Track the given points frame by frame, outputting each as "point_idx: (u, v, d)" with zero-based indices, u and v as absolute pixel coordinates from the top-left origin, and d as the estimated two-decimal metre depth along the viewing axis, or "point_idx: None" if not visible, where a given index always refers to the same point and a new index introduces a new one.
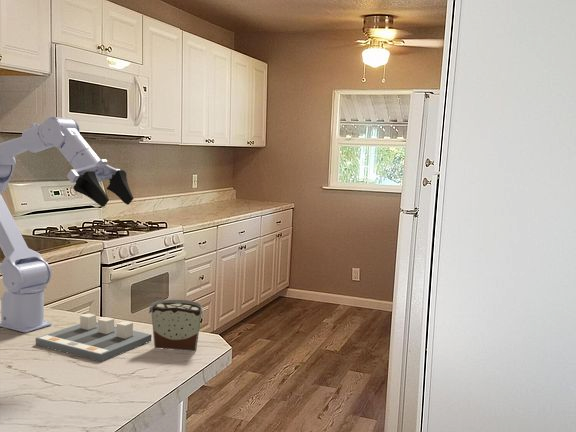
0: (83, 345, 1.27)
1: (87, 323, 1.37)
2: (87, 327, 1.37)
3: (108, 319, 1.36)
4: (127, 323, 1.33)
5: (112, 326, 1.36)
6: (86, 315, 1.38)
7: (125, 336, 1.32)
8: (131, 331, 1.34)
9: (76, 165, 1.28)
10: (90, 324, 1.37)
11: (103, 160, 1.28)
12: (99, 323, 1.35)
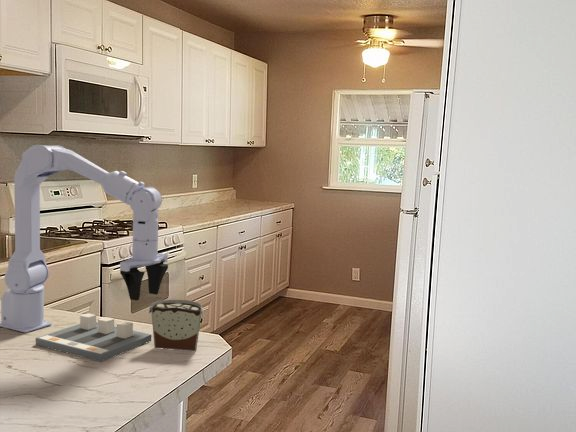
0: (83, 345, 1.27)
1: (87, 323, 1.37)
2: (87, 327, 1.37)
3: (108, 319, 1.36)
4: (127, 323, 1.33)
5: (112, 326, 1.36)
6: (86, 315, 1.38)
7: (125, 336, 1.32)
8: (131, 331, 1.34)
9: (135, 247, 1.35)
10: (90, 324, 1.37)
11: (157, 261, 1.36)
12: (99, 323, 1.35)
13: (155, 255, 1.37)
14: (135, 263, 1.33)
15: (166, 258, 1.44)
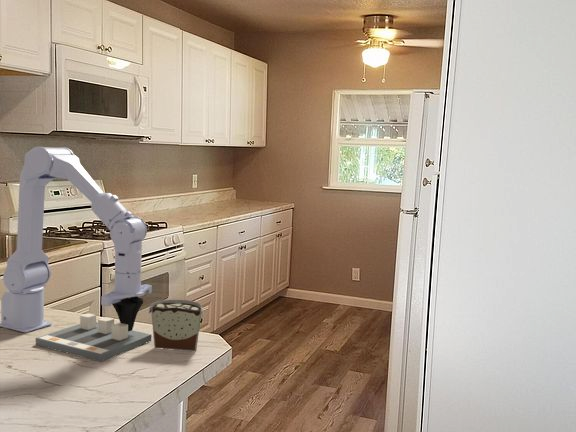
0: (83, 345, 1.27)
1: (87, 323, 1.37)
2: (87, 327, 1.37)
3: (108, 319, 1.36)
4: (122, 325, 1.32)
5: None
6: (86, 315, 1.38)
7: (120, 338, 1.31)
8: (126, 333, 1.33)
9: (117, 280, 1.31)
10: (90, 324, 1.37)
11: (140, 295, 1.32)
12: (99, 323, 1.35)
13: (138, 288, 1.32)
14: (117, 297, 1.28)
15: (150, 289, 1.39)
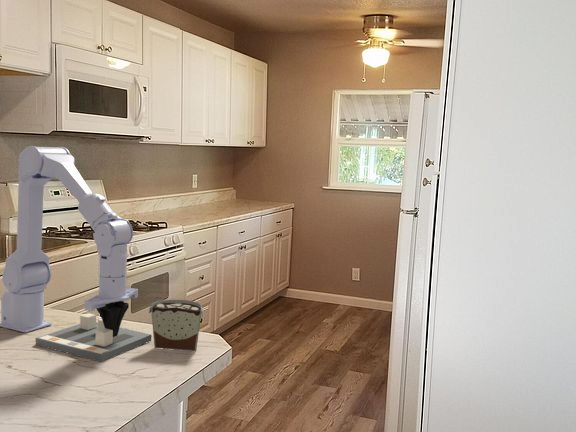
0: (83, 345, 1.27)
1: (87, 323, 1.37)
2: (87, 327, 1.37)
3: None
4: (107, 330, 1.28)
5: None
6: (86, 315, 1.38)
7: (104, 344, 1.27)
8: (111, 339, 1.28)
9: (101, 284, 1.27)
10: (90, 324, 1.37)
11: (125, 299, 1.27)
12: (99, 323, 1.35)
13: (123, 292, 1.28)
14: (101, 302, 1.24)
15: (136, 293, 1.35)
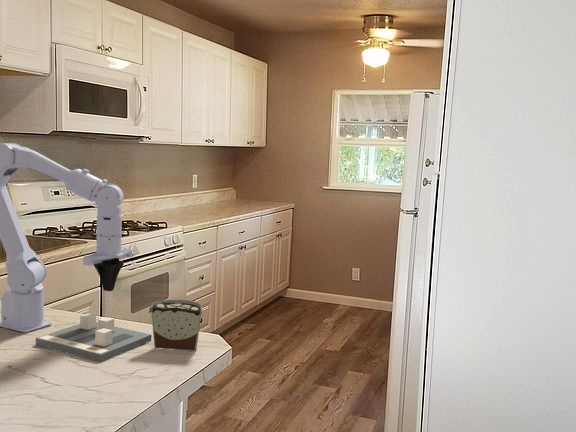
0: (83, 345, 1.27)
1: (87, 323, 1.37)
2: (87, 327, 1.37)
3: (108, 319, 1.36)
4: (106, 330, 1.28)
5: (112, 326, 1.36)
6: (86, 315, 1.38)
7: (104, 344, 1.27)
8: (111, 339, 1.28)
9: (99, 243, 1.40)
10: (90, 324, 1.37)
11: (120, 256, 1.41)
12: (99, 323, 1.35)
13: (118, 250, 1.42)
14: (98, 258, 1.38)
15: (131, 253, 1.48)
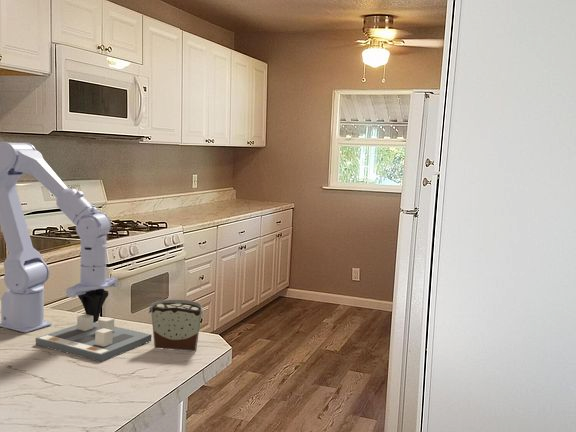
0: (83, 345, 1.27)
1: (84, 324, 1.36)
2: (84, 328, 1.36)
3: (108, 319, 1.36)
4: (106, 330, 1.28)
5: (112, 326, 1.36)
6: (83, 316, 1.37)
7: (104, 344, 1.27)
8: (111, 339, 1.28)
9: (82, 273, 1.36)
10: (87, 325, 1.37)
11: (105, 287, 1.37)
12: (99, 323, 1.35)
13: (103, 280, 1.38)
14: (82, 289, 1.34)
15: (116, 282, 1.45)
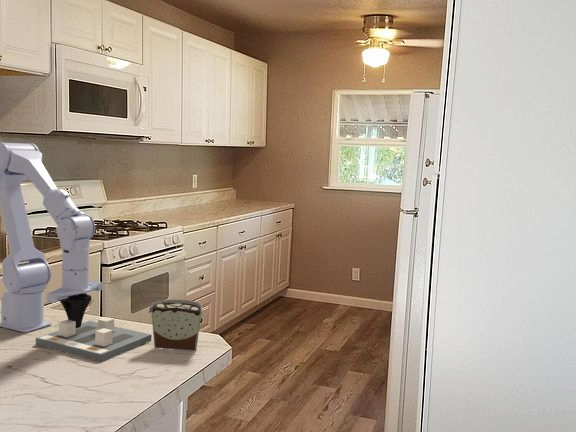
0: (83, 345, 1.27)
1: (66, 330, 1.31)
2: (66, 334, 1.31)
3: (108, 319, 1.36)
4: (106, 330, 1.28)
5: (112, 326, 1.36)
6: (65, 322, 1.32)
7: (104, 344, 1.27)
8: (111, 339, 1.28)
9: (64, 277, 1.31)
10: (69, 331, 1.32)
11: (87, 291, 1.32)
12: (99, 323, 1.35)
13: (85, 285, 1.33)
14: (63, 294, 1.29)
15: (100, 286, 1.40)
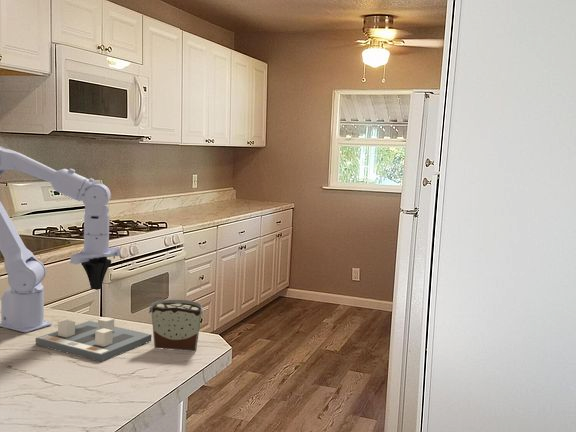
0: (83, 345, 1.27)
1: (65, 330, 1.31)
2: (65, 334, 1.31)
3: (108, 319, 1.36)
4: (106, 330, 1.28)
5: (112, 326, 1.36)
6: (64, 322, 1.32)
7: (104, 344, 1.27)
8: (111, 339, 1.28)
9: (86, 241, 1.40)
10: (68, 331, 1.32)
11: (108, 255, 1.41)
12: (99, 323, 1.35)
13: (106, 249, 1.42)
14: (85, 256, 1.38)
15: (119, 252, 1.49)
